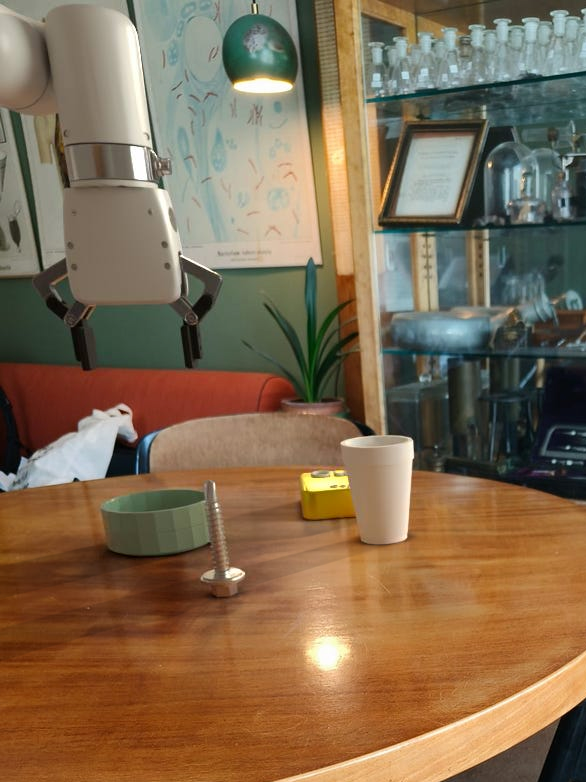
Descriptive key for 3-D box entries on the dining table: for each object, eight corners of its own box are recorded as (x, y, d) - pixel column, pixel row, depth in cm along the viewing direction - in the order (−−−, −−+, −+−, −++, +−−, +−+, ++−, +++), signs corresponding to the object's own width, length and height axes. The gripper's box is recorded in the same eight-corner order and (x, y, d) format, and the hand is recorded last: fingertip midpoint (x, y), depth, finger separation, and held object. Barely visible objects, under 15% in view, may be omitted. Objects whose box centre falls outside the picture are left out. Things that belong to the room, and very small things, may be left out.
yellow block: (303, 521, 130) (299, 489, 128) (301, 499, 143) (297, 470, 141) (404, 513, 132) (402, 481, 130) (393, 492, 146) (391, 463, 144)
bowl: (95, 561, 114) (86, 515, 111) (124, 533, 127) (116, 491, 124) (207, 554, 115) (200, 509, 113) (225, 527, 128) (219, 486, 126)
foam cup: (360, 551, 114) (351, 450, 109) (340, 534, 122) (331, 439, 117) (428, 541, 118) (423, 442, 113) (405, 525, 125) (399, 433, 121)
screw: (194, 598, 98) (220, 585, 103) (230, 602, 97) (255, 588, 101) (175, 483, 94) (204, 473, 98) (212, 485, 92) (240, 475, 96)
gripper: (216, 177, 85) (237, 363, 91) (28, 177, 83) (62, 367, 89) (202, 167, 78) (226, 370, 84) (-4, 167, 76) (36, 374, 82)
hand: (142, 368), depth 87 cm, fingers open, 9 cm apart
